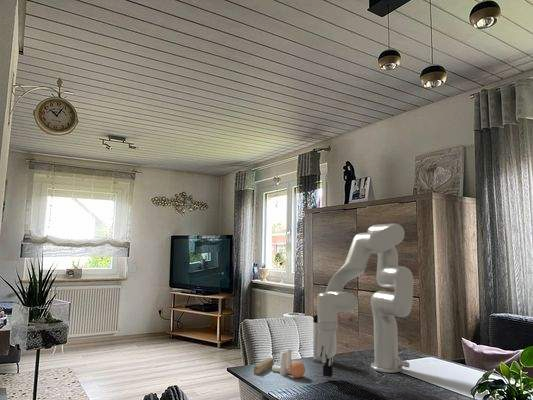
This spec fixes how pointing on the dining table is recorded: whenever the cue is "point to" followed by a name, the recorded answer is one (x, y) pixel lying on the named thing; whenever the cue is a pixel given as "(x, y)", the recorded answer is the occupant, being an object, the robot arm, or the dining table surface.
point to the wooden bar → (263, 366)
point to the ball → (297, 369)
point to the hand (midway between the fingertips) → (327, 375)
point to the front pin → (277, 369)
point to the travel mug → (315, 339)
